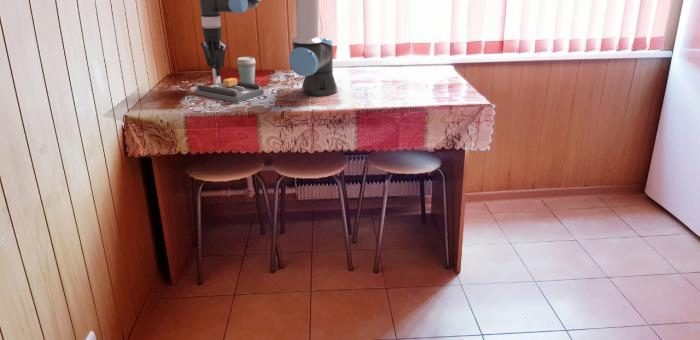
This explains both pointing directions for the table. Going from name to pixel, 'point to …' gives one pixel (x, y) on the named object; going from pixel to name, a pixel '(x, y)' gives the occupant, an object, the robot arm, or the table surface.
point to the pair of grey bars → (228, 92)
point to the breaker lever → (230, 83)
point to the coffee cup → (246, 69)
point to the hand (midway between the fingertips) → (217, 83)
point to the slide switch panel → (242, 92)
